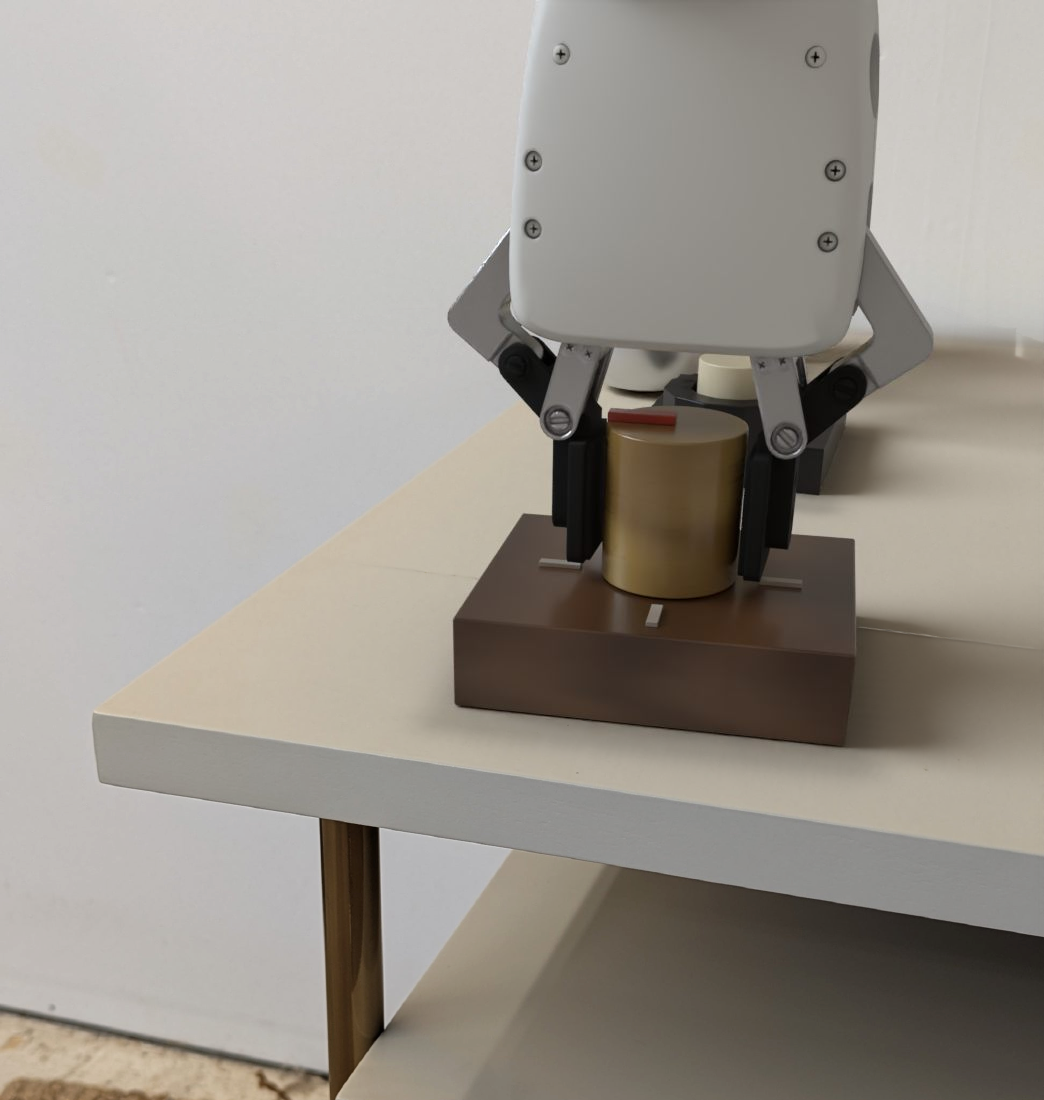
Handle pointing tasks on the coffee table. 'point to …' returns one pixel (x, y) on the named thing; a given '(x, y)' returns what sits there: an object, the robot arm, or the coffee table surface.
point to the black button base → (811, 459)
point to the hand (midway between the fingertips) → (669, 552)
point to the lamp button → (726, 377)
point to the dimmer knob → (673, 500)
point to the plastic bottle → (648, 368)
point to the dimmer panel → (663, 642)
